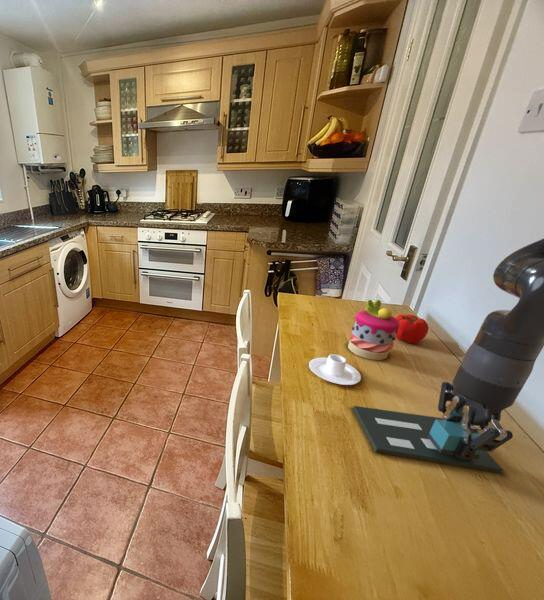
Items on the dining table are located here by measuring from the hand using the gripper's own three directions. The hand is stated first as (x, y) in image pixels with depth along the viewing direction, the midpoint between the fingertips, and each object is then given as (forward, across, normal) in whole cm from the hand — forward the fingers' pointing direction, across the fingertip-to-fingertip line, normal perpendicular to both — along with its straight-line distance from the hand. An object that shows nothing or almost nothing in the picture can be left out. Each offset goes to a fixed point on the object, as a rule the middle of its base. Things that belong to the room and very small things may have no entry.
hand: (452, 446), depth 60 cm
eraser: (0, 0, 0) cm, 0 cm away
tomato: (+2, +47, -14) cm, 49 cm away
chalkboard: (+2, +3, +4) cm, 5 cm away
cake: (+2, +37, 0) cm, 37 cm away
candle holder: (+2, +23, +13) cm, 27 cm away
